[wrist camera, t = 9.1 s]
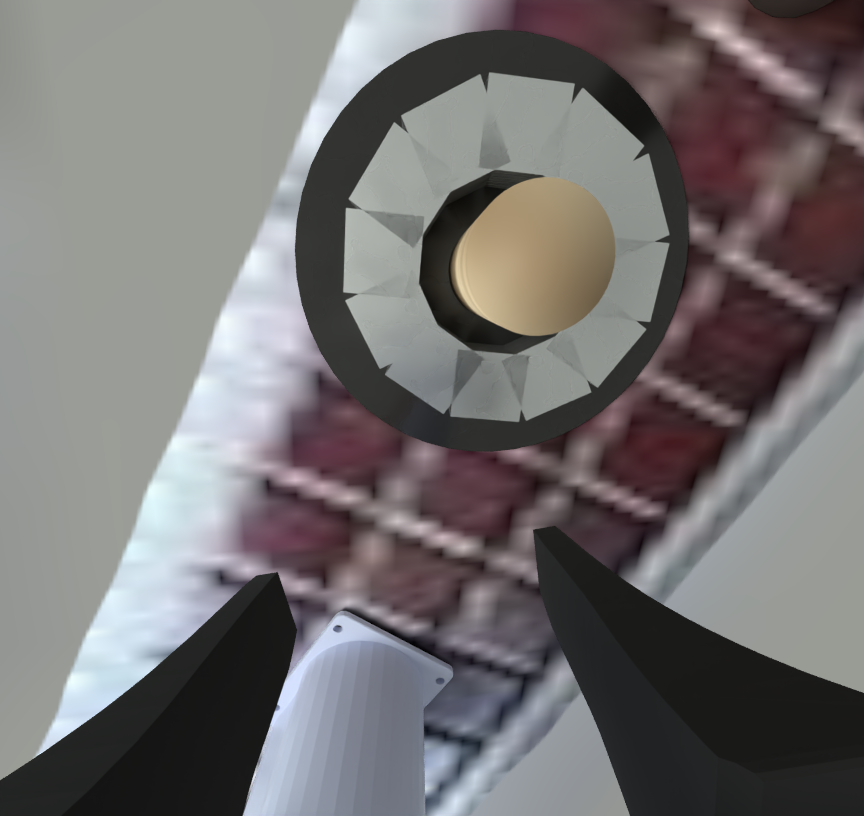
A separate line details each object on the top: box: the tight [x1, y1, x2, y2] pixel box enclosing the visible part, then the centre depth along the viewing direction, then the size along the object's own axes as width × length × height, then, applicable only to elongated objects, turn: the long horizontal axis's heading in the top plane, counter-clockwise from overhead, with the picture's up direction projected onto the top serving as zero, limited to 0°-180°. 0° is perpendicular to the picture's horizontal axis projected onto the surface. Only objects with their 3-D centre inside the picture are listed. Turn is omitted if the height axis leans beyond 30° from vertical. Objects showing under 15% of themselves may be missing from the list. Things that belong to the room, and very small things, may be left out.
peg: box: [448, 177, 616, 336], centre depth 14 cm, size 4×4×7 cm
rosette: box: [295, 30, 689, 451], centre depth 17 cm, size 17×17×3 cm
